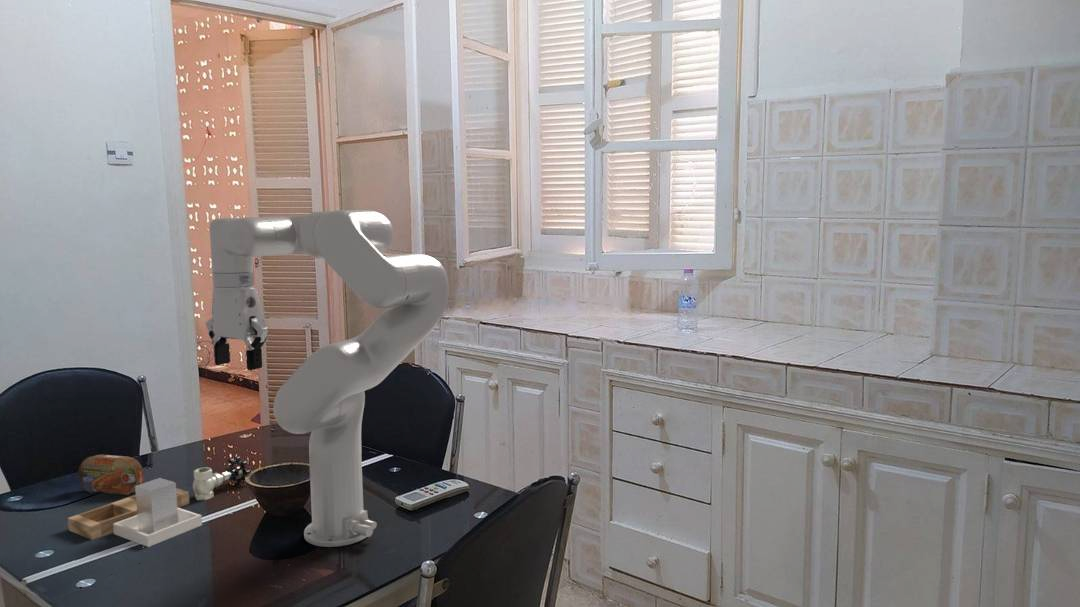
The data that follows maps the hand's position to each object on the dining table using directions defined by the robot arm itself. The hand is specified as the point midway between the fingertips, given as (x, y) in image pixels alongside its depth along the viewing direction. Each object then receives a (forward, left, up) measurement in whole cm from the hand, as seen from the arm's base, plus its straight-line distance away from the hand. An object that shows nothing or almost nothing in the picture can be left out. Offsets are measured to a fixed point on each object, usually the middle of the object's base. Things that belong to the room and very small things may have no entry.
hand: (238, 366), depth 151 cm
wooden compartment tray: (+17, +14, -30) cm, 37 cm away
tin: (+34, +8, -31) cm, 46 cm away
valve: (+14, -4, -31) cm, 34 cm away
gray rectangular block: (+6, +15, -30) cm, 34 cm away
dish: (+6, +15, -30) cm, 34 cm away
